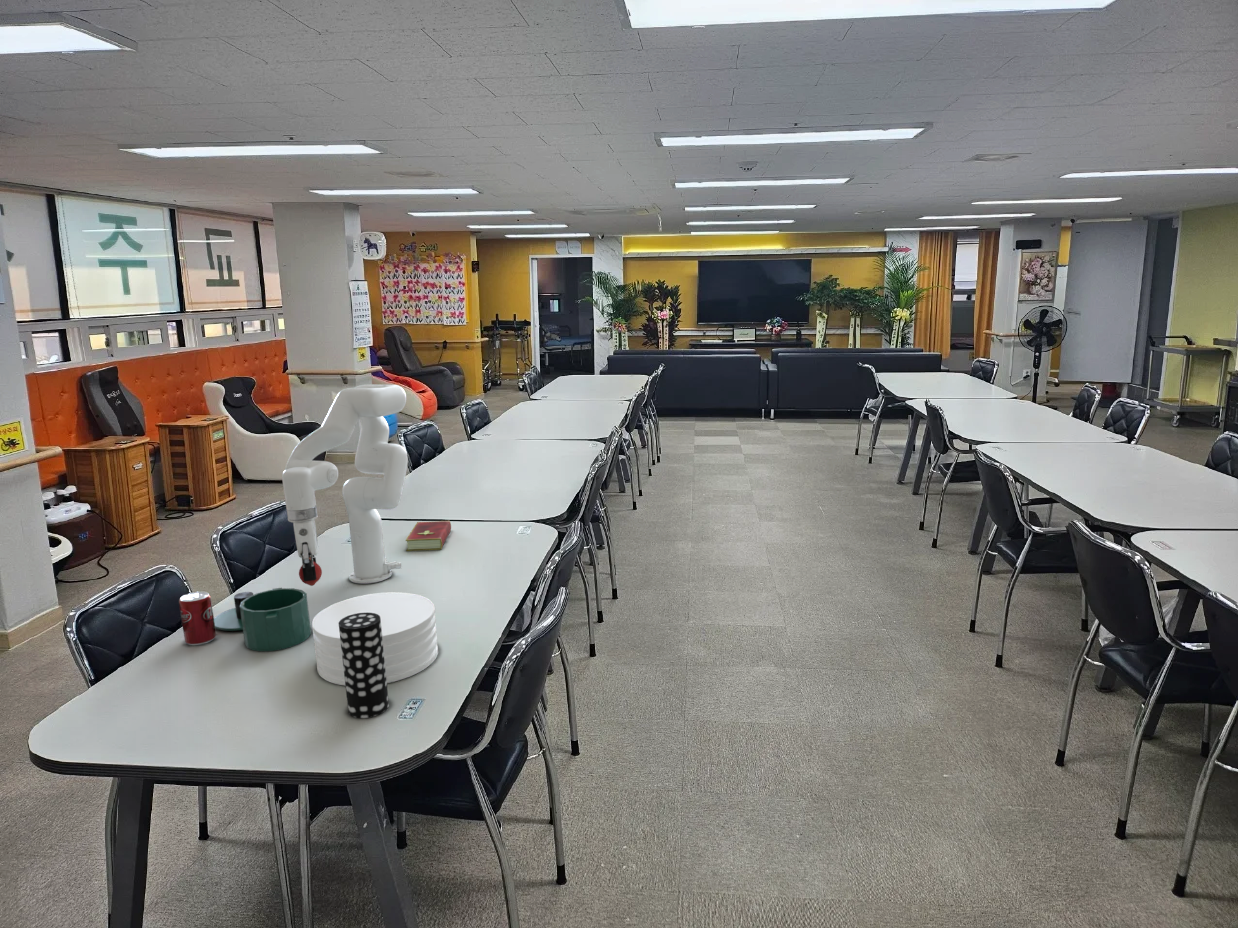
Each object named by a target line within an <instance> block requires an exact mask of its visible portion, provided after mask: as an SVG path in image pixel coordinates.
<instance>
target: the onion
mask: <svg viewBox="0 0 1238 928" xmlns="http://www.w3.org/2000/svg"><path fill="white" fill-rule="evenodd" d="M309 559H310V560H311V558H309ZM313 564H314V565H315V571H316V580H312V581H304V578H303V571H302V567H303V566H302V565H301V566H300V567H299V570H298V577H299V580H300V581H301V582H302V583H303V584H306V585H307V586H310V587H313V586H315V585H316V584H317V583H318V582H319V580H321V577H322V574H323V570H322V567H321V565H320V564H319V563H317V561H316V562H313Z"/></svg>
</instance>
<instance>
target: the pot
mask: <svg viewBox="0 0 1238 928" xmlns="http://www.w3.org/2000/svg"><path fill="white" fill-rule="evenodd" d="M308 601H309V600H308V593H307V592H306V591H304V590H302V589H299V588H292V587H291V588H288V587H287V588H285V587H278V588H277V587H276V588H272V589H268V590H264V591H260V592H256V593H255V594H254V593H253V595H252V596H249V597H247V598H246V599H245V600H243V601H242V602H241V604H240V612H241V619H242V626H243V630H242V632H243V639H244V644H245V646H246V647H247V648H248V649H249V650H252V651H256V652H275V651H281V650H286V649H288V648H291V647H294V646H297V645H300V644H301V643H303V642H305V641H306V640H308V638H309V637H310V636H311V634H312V629H311V627H312V626H311V619H310V610H309V602H308Z"/></svg>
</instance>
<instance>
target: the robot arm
mask: <svg viewBox="0 0 1238 928" xmlns="http://www.w3.org/2000/svg"><path fill="white" fill-rule="evenodd" d="M406 404H407V393H406V391H405V390H404V388H403V387H402V386H400V385H398V384H379V383H378V384H375V383H374V384H373V383H371V384H370V383H369V384H360V385H357V386H355V387H347V388H343V389H341V390H340V391H338V393H337V395H336V396H335V398H334V400H333V402H332V404H331V406H330V408H329V410H328V412H327V414H326V416H325V418H324V420H323V422H322V424H321V425H320V427H319V428H317V429H315V430H313V432H311V433H309V434H308V435H307V436H306V437H304V438H303V439H302V440H301V441H300V442H298V443H297V444H296V446H295V447H294V449H293V450H292V452H291V453H290V455H289V457H288V459H287V462H286V464H285V466H284V467H285V468H284V471H283V472H282V474H281V479H282V487H283V494H284V501H285V509H286V516H287V521H288V522H289V523H292V524H293V532H294V533H293V534H294V538H295V544H296V550H297V554H298V555H297V556H298V557H299V558H301V566H303V567H302V571H303V578H304V581H312V580H316V571H315V565H314V564H313V562H316V563H317V557H316V556H317V555H318V554H319V547H320V546H319V540H318V534H317V533H318V532H317V526H316V521H315V520H316V519H317V518H318V517H319V516H318V508H317V501H316V493H315V492H316V491H321V490H325V489H328V488H330V487H332V486H334V485H335V484H336V482H337V481H338V479H339V469H338V466H336V465H335V464H334V463H332V462H330V461H326V460H314V459H315V458H317V457H318V456H319V455H321V454H323V453H324V452H327V451H330V450H332V449H336V448H338V447H340V446H342V445H345V444H347V443H348V442H349V441H350V440H351V438H352V435H353V433H354V431H355V429H356V427H357V425H358V423H360V432H359V437H358V442H357V447H356V451H355V457H354V467H355V469H356V471H358V472H360V473H363V474H366V475H383V477H375V476H354V477H351V478H349V479H348V480H346V481H345V483H344V484H343V486H342V490H341V491H342V492H341V493H342V499H343V503H344V505H345V509H346V513H347V518H348V525H349V536H350V545H351V546H350V547H351V555H352V564H353V566H352V567H353V571H352V572H351V573H349V576H348V577H349V581H350V582H352V583H355V584H375V583H378V582H379V583H380V582H382V581H385V580H388V579H389V578H390V577H392V575H393V572H392V571H393V570H401V569H402V562H397V560H395V561H390V562H389V561H388V560H387V557H386V552H385V542H384V539H385V538H384V529H383V520H382V517H381V515H380V513H379V512H378V510H383V511H384V510H385V511H387V510H389V511H390V510H394V509H396V508H397V507H398V506H399V504H400V502H401V499H402V496H403V492H404V486H405V481H406V475H407V470H408V463H409V459H408V452H407V450H406V449H405V447H404V446H402V445H401V444H399V443H389V437H390V427H389V423H388V422H387V420H386V418H385V417H386V416H390V415H395V414H398V413H400V412H402V411H403V409H405V406H406ZM309 558H311V560H310V559H309Z"/></svg>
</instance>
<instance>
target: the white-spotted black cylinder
mask: <svg viewBox="0 0 1238 928" xmlns="http://www.w3.org/2000/svg"><path fill="white" fill-rule="evenodd" d="M339 632H340V641H341V650H342V659H343V668H344V677H345V685H344V686H345V695H346V703H347V713H348V715H349V716H351V717H353V718H356V719H369V718H373V717H377V716H379V715H382V714H383V713H384V712H386V711H387V710H388V709H389V706H390V703H389V702H390V701H389V692H388V691H389V690H388V683H387V680H386V670H385V660H384V650H383V639H382V629H381V619H380V616H379V615H378V614H375V613H357V614H352V615H349V616H347V617H344V618H343V619H341V620H340V621H339Z"/></svg>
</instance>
